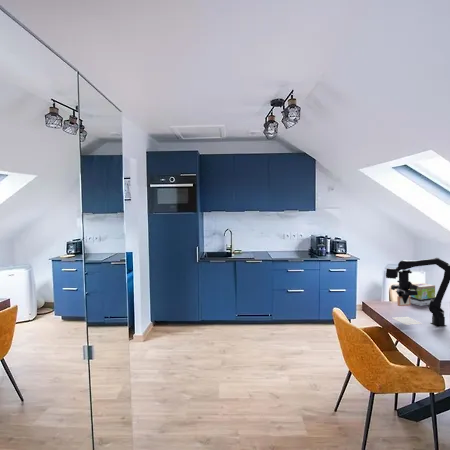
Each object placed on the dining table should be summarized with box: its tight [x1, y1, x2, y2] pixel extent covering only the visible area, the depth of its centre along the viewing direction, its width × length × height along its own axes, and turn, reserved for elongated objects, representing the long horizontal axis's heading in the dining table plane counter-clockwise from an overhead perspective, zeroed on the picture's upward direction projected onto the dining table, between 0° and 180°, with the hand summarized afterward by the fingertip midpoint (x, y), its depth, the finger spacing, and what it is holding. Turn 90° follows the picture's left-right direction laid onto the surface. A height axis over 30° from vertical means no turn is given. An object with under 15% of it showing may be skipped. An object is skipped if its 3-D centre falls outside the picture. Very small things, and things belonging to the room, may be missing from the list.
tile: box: [397, 296, 412, 307], centre depth 208 cm, size 2×8×6 cm, turn 96°
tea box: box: [410, 282, 436, 307], centre depth 244 cm, size 15×10×15 cm
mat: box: [392, 316, 424, 326], centre depth 206 cm, size 14×12×1 cm
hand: (404, 303), depth 208 cm, fingers closed on tile, 2 cm apart
